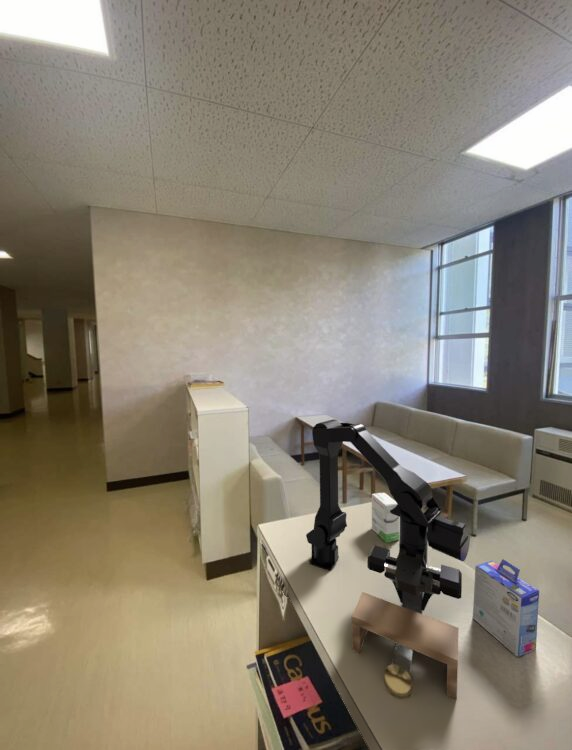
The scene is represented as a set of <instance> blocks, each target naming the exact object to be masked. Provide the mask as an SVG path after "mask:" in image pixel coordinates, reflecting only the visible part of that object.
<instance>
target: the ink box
mask: <svg viewBox="0 0 572 750" xmlns="http://www.w3.org/2000/svg"><path fill="white" fill-rule="evenodd" d="M395 506H397V503H396V501H395V500H394V498H393V497H392V496H390V495H389V494H387V493H386V492H376V493H371V529H372V530H373V531H374V533H376V535H378V536H379V537H380V538H381V539H382V540H383V541H384V542H385V543H391V542H395V541H399V532H400V517H399V516H396V515H394V514H391V513H390V510H391V509H393V508H394V507H395Z"/></svg>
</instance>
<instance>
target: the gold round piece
mask: <svg viewBox="0 0 572 750" xmlns="http://www.w3.org/2000/svg"><path fill="white" fill-rule="evenodd" d="M411 677H412V676H411V674H410V675H409V673H408V672H407V671H406V670H405V669H404V668H403V667H401V666H399V665H392V664H390V665H388V666H387V667H386V668H385V670H384V685H385V688H386V690H387V692H389V694H391V696H393V697H394V698H397V699H401V700H404V699H407V698H409V697H410V695H411V694H412V678H411Z"/></svg>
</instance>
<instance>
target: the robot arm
mask: <svg viewBox="0 0 572 750" xmlns="http://www.w3.org/2000/svg"><path fill="white" fill-rule="evenodd" d="M311 434H312V442H313V446H314V448H315V449H316V451H317V453H318V455H319V457H318V459H319V463H318V464H319V507H318V510H317V511H316V514H315V516H314V523H313V529H312V530H310V531H309V532H307V533H306V535H305V536H306V540H307V543H308V544H310V545H311V546H310V547H311V557H310V559H309V560H308V563H309V564H310V565H314V566H315V567H318V568H320V569H324V570H327V571H328V572H330V571H332V570H333V568H334V566H335V565H336V564H337V563H338V561H339V546H338V545H337V538H339V537H340V536H341V534H342V533H344V531H345V530H346V528H347V527H348V524H347V512H346V511H345V512H344V511H343V510H342V509H341V507H340V506H339V452H340V450H341V447H342V445H343V443H344V442H346V443H350V444H352V446H353V447H355V449H356V450H357V451H358V452H359V453H360V455H361V456H363V458H364V459H365V460H366V461H367V462H368V463H369V464H370V465H371V466H372V468H374V470H375V471H376V472H377V473H378V474H379V475H380V476H381V478H383V480H384V481H385V483H386V484H387V488H388V490H389V494H390V496H391V498H392V499H393V500H395V501H396V503H397V506H395V507H394V508H393V509H391V510H390V513H391V514H394V515H396V516H399V540H398V541H399V542H398V543H399V544H398V546H399V547H398V548H399V549H398V554H397V557H393V556H391V550H390V548H386V547H382V546H379V545H373V546H372V547H371V550H370V551H369V554H368V556H367V561H366V562H367V566H366V567H367V569H368V570H370V571H373V572H376V573H379V574H382V573H383V572H384V573H383V574H384V577H385V578H386V579H389V580H390V581H392V584H393V586H394V588H395V591H396V594H397V596H398V599H399V602H400V603H401V604H402V591H404V592H407V593H410V594H412V595H414V596H420V595H421V592H424V595H423V601H422V611H423V612H425V609H426V607H427V605H428V603H429V601H430V599H431V597H432V596H433V595H438V596H440V595H441V593H442V594H443V595H445V596H448V597H451V598H454V599H457V600H459V599H462V591H463V589H462V588H463V586H462V585H463V583H462V582H463V581H462V580H463V578H462V577H463V576H462V575H463V574H462V572H461V570H460V569H459V568H455V567H451V566H449V565H445V564H441V565H440V567H436V566H435V567H434V566H431V565H430V566H428V547H430V548H431V549H432V550H435V551H437V552H439V553H441V554H445V555H446V556H449V557H450V558H452V559H453V558H454V559H455V560H458V561H460V562H465V561H466V559H467V556H468V554H469V551H470V550H469V549H470V545H471V544H470V541H471V539H470V538H471V537H470V536H469V531H468V530H467V524H465V523H463V522H461V521H454V520H452V519H450V518H446V517H443V516H441V515H443V512H444V510H443V509H442V508H441V506H440V504H439V503H438V501H437V500H436V498H435V496H434V495H433V489H432V487H431V485H430V484H429V483H428V482H427V481H426V480H424V479H423V478H421V477H420V476H419V475H418V474H417V473H415V472H413V471H412V470H409V469H407V468H405V467H403V466H402V465H401V464H399V462H398V461H397V460H396V459H395V458H394V457H393V456H392V455H391V454H390V453H389V452H388V451H387V450H386V449H385V448H384V447H383V446H382V445H381V444H380V443H379V442H378V441H377V440H376V439H375V437H374V436H372V434H371V433H370V432H369V431H368V429H367V427H366V426H365V425H363V424H361V423H351V422H340V421H339V420H338V419H335V418H334V419H330V420H325V421H321V422H318V423H316V424H315V425H314V426H313V427H312V430H311ZM425 507H427V508H428V509H426V511H424V512H423V511H422V510H423V509H424V508H425Z"/></svg>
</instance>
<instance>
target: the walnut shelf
mask: <svg viewBox="0 0 572 750" xmlns="http://www.w3.org/2000/svg"><path fill="white" fill-rule="evenodd" d="M358 599H359V600H358V601H357V603H356V606H355V608H354V611H353V613H352V615H351V650H352V651H354V652H355V653H358V654H360V653H361V651H362V648H363V644H364V641H365V639H366V636H367V634H368V631H369V632H371V633H374V634H376V635H377V636H381V637H383V638H385V639H387V640H389V641H393V642H394V643H396V644H397V643H399V644H401V645H403V646H406V647H408V648H410V649H412V650H414V651H415V652H418V653H420V654H422V655H424V656H426V657H429V658H431V659H433V660H436V661H438V662H440V663H443V664H446V666H447V667H446V669H447V670H446V671H447V672H446V695H447V696H448V697H451V698H453V699H454V700H457V699H458V698H457V697H458V696H457V695H458V672H459V671H458V668H459V667H458V665H459V630H460V629H459V627H457V626H455V625H452V624H449V623H447V622H444V621H441V620H440V619H436V618H433V617H430V616H427V615H425V614H423V613H422V614H420V613H418V612H415V611H412V610H410V609H407V608H404V607H402V605H398V604H396V603H393V602H390V601H388V600H386V599H382V598H380V597H377V596H374V595H372V594H370V593H367V592H363V591H362V592H361V594H360V597H359V598H358Z"/></svg>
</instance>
